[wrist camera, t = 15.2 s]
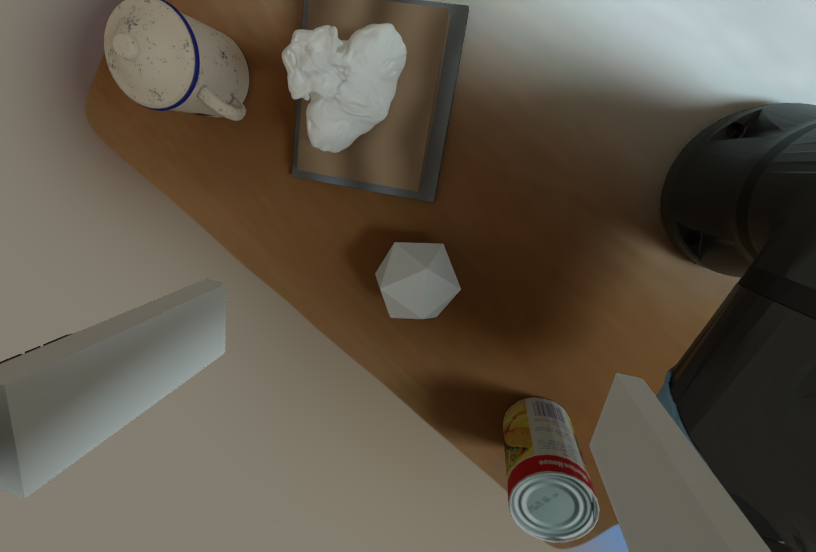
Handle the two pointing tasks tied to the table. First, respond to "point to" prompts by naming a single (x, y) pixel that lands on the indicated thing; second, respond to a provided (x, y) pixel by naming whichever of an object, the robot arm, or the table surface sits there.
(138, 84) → the teacup with lid
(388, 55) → the bust
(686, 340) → the table surface
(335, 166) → the pedestal
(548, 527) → the canned food
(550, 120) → the table surface
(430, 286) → the die
